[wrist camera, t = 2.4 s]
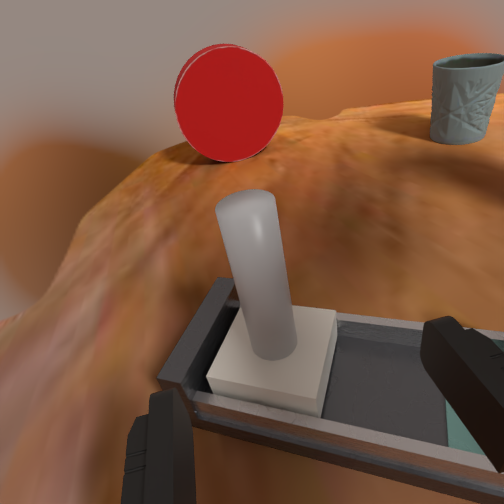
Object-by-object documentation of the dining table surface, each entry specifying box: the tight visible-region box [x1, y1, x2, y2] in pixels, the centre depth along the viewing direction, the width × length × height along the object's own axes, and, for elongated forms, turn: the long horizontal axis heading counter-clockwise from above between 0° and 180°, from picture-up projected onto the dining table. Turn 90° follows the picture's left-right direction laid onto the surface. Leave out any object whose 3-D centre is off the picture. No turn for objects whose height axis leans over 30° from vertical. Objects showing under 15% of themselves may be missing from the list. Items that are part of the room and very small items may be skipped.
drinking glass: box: [430, 53, 504, 145], centre depth 61 cm, size 10×10×12 cm
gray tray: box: [156, 277, 504, 504], centre depth 27 cm, size 11×26×6 cm, turn 71°
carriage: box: [206, 189, 337, 418], centre depth 25 cm, size 8×8×15 cm
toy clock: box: [174, 44, 283, 162], centre depth 70 cm, size 20×6×20 cm, turn 103°
